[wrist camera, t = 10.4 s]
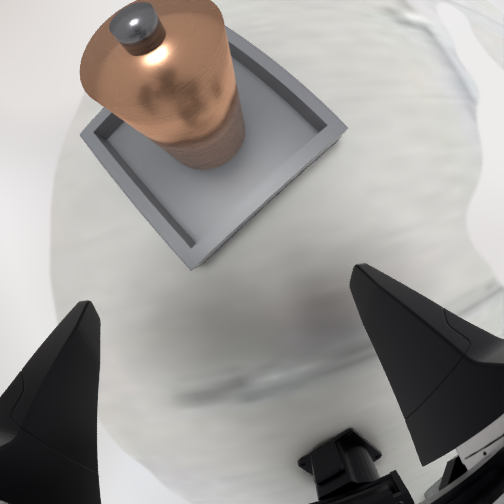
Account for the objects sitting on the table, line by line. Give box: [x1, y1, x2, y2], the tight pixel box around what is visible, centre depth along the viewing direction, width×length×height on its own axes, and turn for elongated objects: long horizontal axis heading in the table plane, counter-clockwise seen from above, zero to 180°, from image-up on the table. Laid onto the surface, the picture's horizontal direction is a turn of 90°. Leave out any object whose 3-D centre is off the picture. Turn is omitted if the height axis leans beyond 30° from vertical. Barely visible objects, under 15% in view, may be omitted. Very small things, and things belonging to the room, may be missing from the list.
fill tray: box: [80, 26, 348, 270], centre depth 19 cm, size 14×14×3 cm
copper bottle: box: [80, 0, 245, 170], centre depth 13 cm, size 6×6×14 cm
